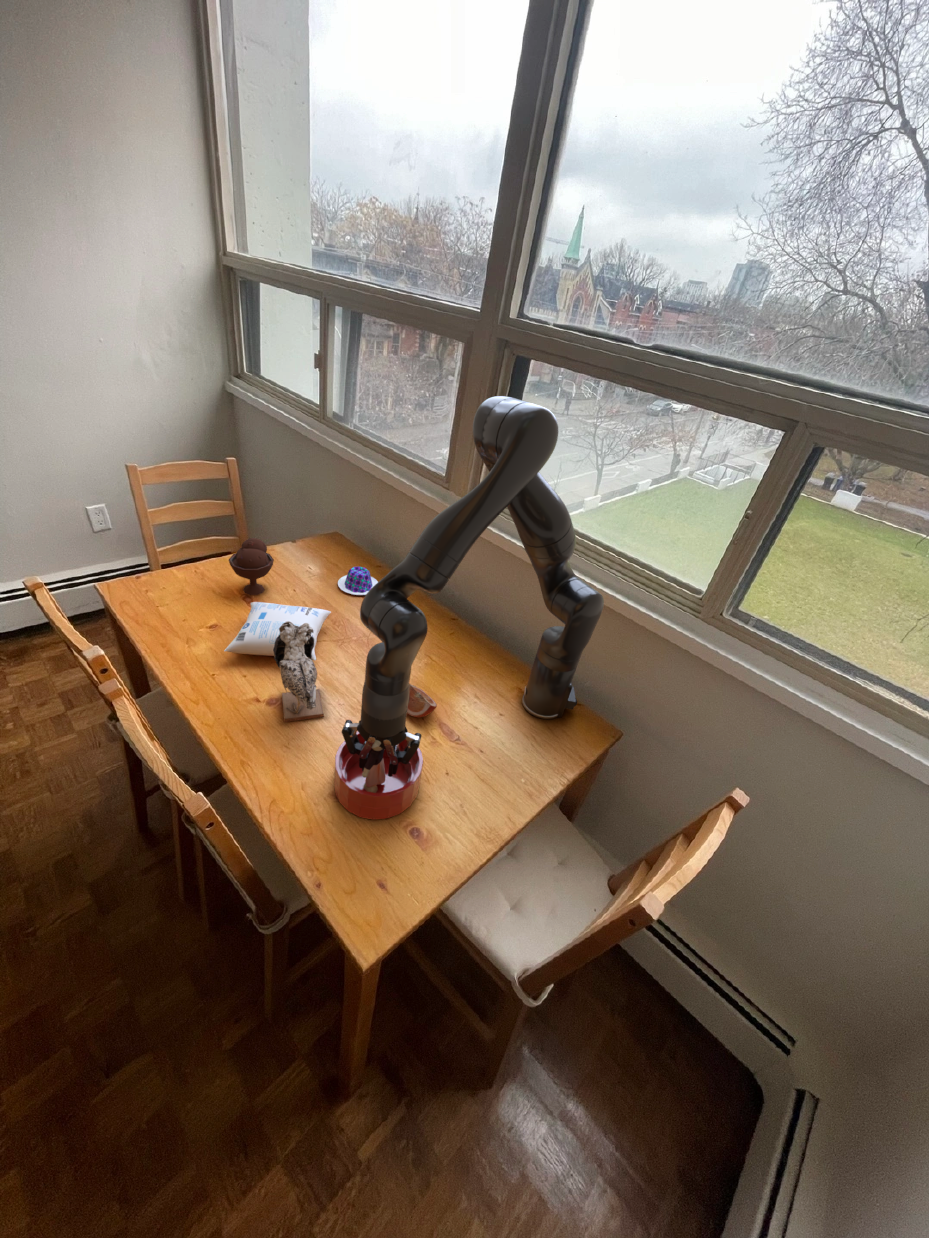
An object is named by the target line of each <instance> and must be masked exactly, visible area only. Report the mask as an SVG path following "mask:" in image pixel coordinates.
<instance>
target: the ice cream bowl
mask: <svg viewBox="0 0 929 1238" xmlns="http://www.w3.org/2000/svg"><path fill="white" fill-rule="evenodd" d="M267 551H268V546H267V544H266V543H265V542H264V541H263V540H262V539H261V538H260V539H259V538H257V537H251V538H250V537H249V538H247V539H245V540H244V541H243V542H242V543H241V547H240V548H239V549H238V550H237V551H236V552H235V553H232V555H231V556H230V557H229V558H228V563H229V565H230V567H231V569H232V570H233V572H234V573H235V575H237V576H239V577H240V578H244V579H246V580H249V584H246V585H244V587H243V588H242V591H243V593H244V594H245V595H249V596H259V595H261V594H264V592H265V590H266V589H265V587H264V586H263V585H262V584H260V583H258V582H257V580H258V579H261V578H263V577H266V576H267V574H269V573H270V571H271V569H272V567H273V566H274V563H275V562H274V561H275V560H274V557H273V556H272V554H270V553H268V552H267Z"/></svg>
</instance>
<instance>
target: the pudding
mask: <svg viewBox="0 0 929 1238" xmlns="http://www.w3.org/2000/svg"><path fill="white" fill-rule="evenodd" d="M378 582H379V581H378V580H377V579H376V578H375V577H373V576H371V572H370V570H368V569H367V568H366V567H363V566H353V567H351V568H349V570H348V571H347V574H345V575H343V576H341V577H340V578H339V579H338V580H337V586H338V588H339V589H340V590H341V591H343V592H344V593H347V594H351V595H354V596H355V595H356V596H366V594H367V593H368V592H369V590H370V589H371V588H372V587H373V586H374V585H376V584H377V583H378Z"/></svg>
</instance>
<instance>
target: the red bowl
mask: <svg viewBox="0 0 929 1238" xmlns="http://www.w3.org/2000/svg"><path fill="white" fill-rule="evenodd" d="M356 733H357V736H358V739H359V742H360V744H364V742H365V740H364V738H363V737H362V736H361V735H360V733H359V732H358V731H357V732H356ZM406 743H407V741H406V740H404V741H402V742H401V743H399V748H400V751H404V750H405V748H406V747H407V744H406ZM371 749H372V748H371ZM371 749H370V750H371ZM359 759H360V757H359V755H358V754H350V753H349V750H348V748H347V745H346V742H345V740H343V742H342V743H341V744H340V745H339V746H338V749H337V751H336V753H335V756H334V793H335V796H336V798H337V801H338V802H339V803H340V804H341V805H342V806H343V808H344V809H345V810H346V811H347V812H349V813H352V814H353V815H355V816H357V817H359V818H363V819H369V820H373V821H375V820H384V819H390V818H393V817H396V816H397V815H401V814H402V813H404V811H405V810H407V809H408V808H409V807H411V805H412V804H413V802H414V801H415V800H416V798H417V796H418V794H419V788H420V784H421V778H422V772H423V766H424V758H423V752H422V749H420V747H419V748H418V749H417V750H416V752H415V753H414V755H413V756H412V758H411V759H410V761H409V762H408V763H407V764H403V763H402V762H399V763H398V769H397V772H396V774H395V775H394V774H392V777H390V776H388V771H389V763H390V757H389V756H388V755H387V751H386V749H385V750H384V754H383V760H384V768H385V782H384V783H383V784H380V785H378V784H377V785H376V786H377V787H378V790H377V792H376V793H373V792H367V791H366V790H365V789H364V787H363V786H364V784H365V781H366V778H364V777H363V776H362V773H363V771H362V768H360V767H359Z"/></svg>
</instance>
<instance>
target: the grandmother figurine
mask: <svg viewBox="0 0 929 1238" xmlns="http://www.w3.org/2000/svg"><path fill="white" fill-rule="evenodd" d="M380 744H381V742H380V741H378V740H375V742H374V744H373V746H372V749H371V750H370V752H369V754H368V760H367V762H366V764H365V768H364V772H363V773H362V776H363V777H364V778H366V781H365V784H364V786H363V787H364V789H365V790H366V791H367V792H373V793H376V792H377V790H378V787H377V786H376V785H377V784H378V785H380V784H383V783H384V782H385V768H384V760H383V754H384V750H385V749H382V748H381V747H379V746H380Z"/></svg>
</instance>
